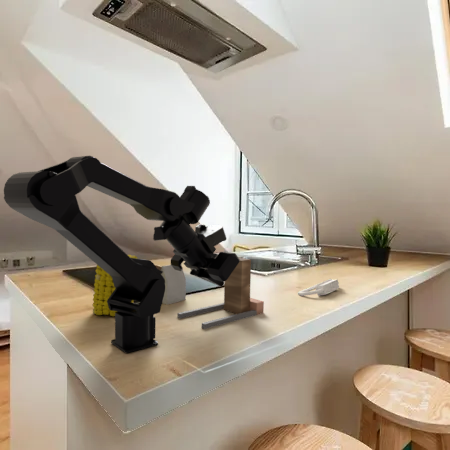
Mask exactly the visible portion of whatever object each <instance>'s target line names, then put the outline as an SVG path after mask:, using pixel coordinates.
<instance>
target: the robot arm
mask: <svg viewBox="0 0 450 450" xmlns="http://www.w3.org/2000/svg"><path fill="white" fill-rule="evenodd" d="M88 187H89V188H90V189H93V190H95V191H98V192H100V193H102V194H104V195H107V196H110V197H112V198H113V199H116V200H118V201H120V202H123V203H125V204H126V205H127V204H128V205H129V206H131V207H132V208H133V209H134V211H135V212H136V214H139V215H140V216H141V217H142V218H144V219H146V220H149V221H160V222H161V224H160V225H159V226H155V227H153V231H154V232H153V236H152V237H153V238H152V239H153V241H155V242H156V241H167V242H168V243H169V244H170V245H171V247H172V248H173V249H174V250H173V251H172V253H173V254H174V255H173V256H172V257H171V259H170V265H171V266H172V267H173V268H174V269H175V270H178V271H182V270H183V271H184V267H186V268H188V269H190V272H189V275H191V276H194V277H197V278H199V279H200V280H204V281H206V282H208V283H211V284H212V285H215V286H218V287H220V288H221V287H224V284H225V281H226V280H227V279H228V278H229V276H230V275H231V273H232V272H233V270H234V269H235V268H236V266H237V265H238V263H239V262H240V259H239V258H240V257H239V256H238V255H237V254H236V253H235V252H230V251H219V252H218V253H215V252H216V251H217V248H216V246H218V245H219V244H221V243H223V242H225V241H226V240H228V239H227V235H226V233H225V230H224V226H222V225H214V224H213V225H208V226H206V225H205V224H198V223H199V222H200V220H201V218H202V217H203V215H204V213H205V212H206V210H207V209H208V207H209V206H210V205H211V203H210V202H211V200H210V198H209V196H208V195H207V194H205V193H204V192H203V191H201V190H200V189H197V188H196V186H195V185H187V186H186V187H185V188H184V190H183V192H182V193H181V195H179V194H178V193H176V192H175V191H172V190H171V191H170V190H168V189H164V188H157V187H151V186H147V185H146V184H143V182H140V181H138V180H136V179H134V178H132V177H131V176H129V175H127V174H124V173H123V172H120V171H118V170H117V169H115V168H113V167H111V166H109V165H107V164H105V163H104V162H101V161H100V160H99V159H98V158H96V157H94V156H92V155H83V156H82V155H81V156H73V157H70V158H69V159H67V160H64V161H62V162H60V163H57V164H55V165H52V166H49V167H46V168H43V169H41V170H37V171H26V172H22V171H21V172H18V173H15V174H12V175H11V176H10V177H9V178H7V181H6V182H5V183H4V188H3V195H4V196H3V200H4V202H5V204H7V205H8V206H9V208H11V209H12V210H13V211H16V213H19V214H21V215H22V216H25V217H27V218H28V219H30V220H32V221H34V222H37V223H40V224H42V225H44V226H46V227H48V228H51V229H53V230H55V231H56V232H57V233H59V235H60V236H62V237H63V238H64V239H66V240H67V241H68V242H69V243H70V244H72V245H73V246H74V247H76V248H77V250H79V251H80V252H81V253H83V254H84V255H85V256H86V257H88V259H90V260H91V261H92V262H93V263H95V264H96V266H97V265H98V266H100V267H101V268H102V269H103V270H104V271H106V272H107V273H108V274H109V275H110V276H111V277H112V279H113V283H114V286H115V290H114V291H113V293H112V294H111V296H110V297H109V298H108V300H107V303H108V306H109V309H110V310H111V311H117V312H115V316H114V339H111V341H110V343H111V344H112V345H113V346H115V347H116V348H118V349H119V350H121V352H123V353H125V354H130V353H134V352H137V351H139V350H140V351H141V350H143V349H144V350H145V349H148V348H151V347H154V346H157V345H159V342H158V340H155V338H156V321H157V320H156V317H155V315H157V314H159V313H160V312H161V309H162V305H163V303H162V301H163V297H164V293H165V279H164V277H163V276H162V275H161V274H162V273H163V271H161V269H158V268H157V266H156V265H155V264H154V261H151V260H149V259H143V258H138V257H137V258H138V259H137V258H130V257H129V256H128V255H129V254H127V253H126V252H125V251H124V250H123V249H122V248H120V247H119V245H117V244H116V243H115V242H114V240H112V239H111V238H110V237H109V236H108V235H107V234H106V233H105V232H104V231H103V230H101V229H100V228H99V226H97V225H96V224H95V223H94V222H93V221H92V220H91V219H90V218H89V217H88V216H87V215H86V214H84V213H83V211H82V210H81V208H80V205H79V201H78V199H77V196H76V195H78V194H79V193H82V191H83V190H85V189H86V188H88ZM197 224H198V225H197ZM191 225H196V226H195V227H194V228H193V227H192V226H191ZM238 257H239V258H238ZM181 264H183V265H184V267H183V266H181ZM132 300H133V301H135V302H133V303H132V302H131V301H132ZM136 302H139V303H136Z"/></svg>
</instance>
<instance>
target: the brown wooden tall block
mask: <svg viewBox="0 0 450 450" xmlns="http://www.w3.org/2000/svg"><path fill="white" fill-rule="evenodd" d="M238 258H239V259H240V262H239V263H238V265H237V266H236V268H235V269H234V270H233V272H232V273H231V275H230V276H229V278H228V279H227V280H226V281H224V285H223V288H224V291H223V294H224V297H223V299H224V300H223V303H224V308H223V311H227V312H229V313H233V314H234V315H235V314H239V313H243V312H247V311H250V298H251V279H252V278H251V277H252V276H251V274H252V273H251V271H252V268H251V267H252V266H251V265H252V259H249V258H243V257H239V256H238Z"/></svg>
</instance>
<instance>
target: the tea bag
mask: <svg viewBox="0 0 450 450" xmlns="http://www.w3.org/2000/svg"><path fill="white" fill-rule="evenodd" d="M182 264H183V263H182ZM182 264H181V266H182ZM182 267H183V266H182ZM160 271H163V273H162V274H161V275H162V276H163V277H164V279H165V293H164V297H163V301H162V305H167V306H168V305H171V304H174V303H179V302H182V301H185V300H186V298H187V297H186V295H187V294H186V292H187V291H186V289H187V287H186V286H187V285H186V284H187V279H186V278H187V277H186V275H185V271H184V269H183V270H182V271H178V270H175V269H174V268H173V267H172V266H171V264H168V265H163V266H161V269H160Z"/></svg>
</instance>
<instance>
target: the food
mask: <svg viewBox="0 0 450 450" xmlns="http://www.w3.org/2000/svg"><path fill="white" fill-rule="evenodd" d="M127 255H128V256H129V257H130V258H137V259H139V258H138V256H136V255H135V254H133V255H131V254H127ZM95 273H96V274H95V275H94V277H95V278H94V283H93V286H94V288H93V292H94V294H93V298H92V301H93V304H92V307H93V308H92V314H94V315H96V316H102V315H105V316H106V315H107V316H110V317H115V312H117V311H111V310H110V309H109V306H108V303H107V300H108V298H109V297H110V296H111V294H112V293H113V291H114V290H115V286H114V283H113V279H112V277H111V276H110V275H109V274H108V273H107V272H106V271H104V270H103V269H102V268H101V267H100V266H98V265H97V264H96V269H95ZM134 301H135V300H132V301H131V302H132V303H135V302H134Z"/></svg>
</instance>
